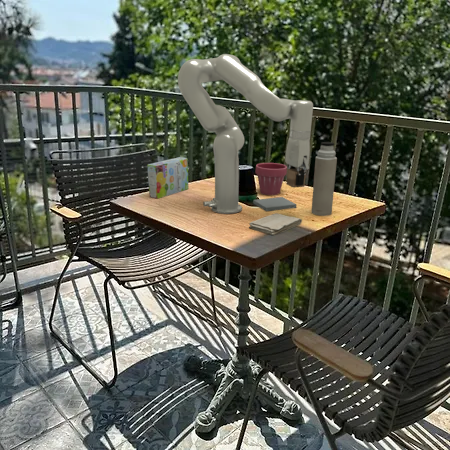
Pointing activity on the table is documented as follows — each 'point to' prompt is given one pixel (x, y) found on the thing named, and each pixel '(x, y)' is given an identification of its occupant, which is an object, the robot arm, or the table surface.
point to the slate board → (274, 204)
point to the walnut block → (293, 178)
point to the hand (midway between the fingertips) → (295, 182)
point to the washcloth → (275, 224)
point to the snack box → (168, 177)
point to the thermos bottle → (324, 180)
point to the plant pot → (270, 177)
